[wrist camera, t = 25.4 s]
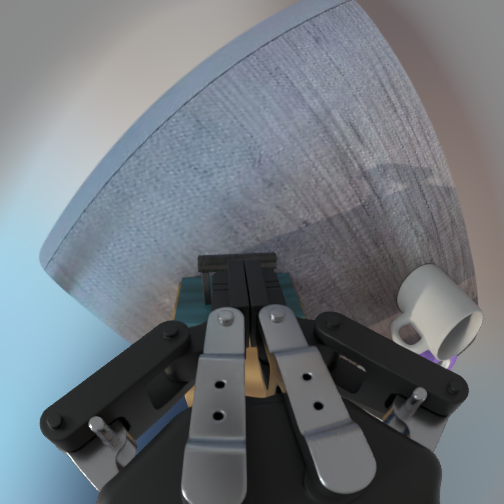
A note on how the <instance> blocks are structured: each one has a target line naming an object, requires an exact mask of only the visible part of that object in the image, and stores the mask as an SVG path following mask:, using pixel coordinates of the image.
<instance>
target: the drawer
mask: <svg viewBox="0 0 504 504" xmlns="http://www.w3.org/2000/svg"><path fill="white" fill-rule="evenodd" d="M238 259H243V261H244V259H259V261H260V265H261V269H265V268H271V269H272V270H273V269H276V266H277V257H276V253H274V252H271V253H247V254H223V255H199V256H198V271H199V272H202V277H187V278H182V281H181V286H180V291H179V297H178V302H177V307H176V312H175V318H174V320H176V321H181V322H183V323H185V324H186V325H187V326H188V328H190V327H193V326H197V325H200V324H202V323H204V322H205V321H206V320H207V319H208V316H209V314H210V313H211V302H212V277H209V272H216V271H221V270H228V260H238ZM277 277H278V280H279V283H280V287H281V289H282V293H283V296H284V299H285V302H286V305H287V307H288V308H290V309H291V310H292V311H293V312H294V314H295V316H297V317H299V318H303V319H305V318H306V316H305V314H304V311H303V308H302V306H301V303H300V301H299V298H298V296H297V293H296V290H295V288H294V285H293V283H292V280H291V278H290V275H289V273H279V274H277Z"/></svg>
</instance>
